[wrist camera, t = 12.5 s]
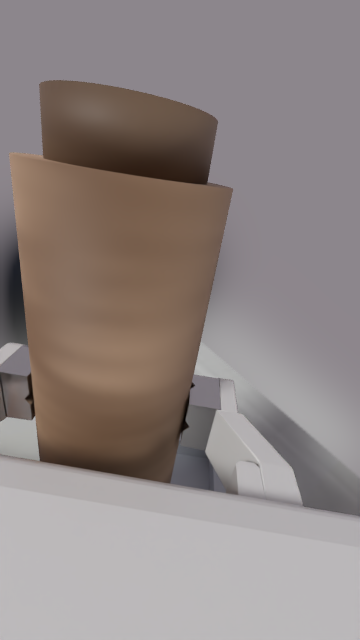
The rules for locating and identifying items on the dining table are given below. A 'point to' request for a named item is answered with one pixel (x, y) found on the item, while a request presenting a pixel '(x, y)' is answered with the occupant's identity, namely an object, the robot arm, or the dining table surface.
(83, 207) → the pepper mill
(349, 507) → the dining table surface
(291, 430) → the dining table surface
